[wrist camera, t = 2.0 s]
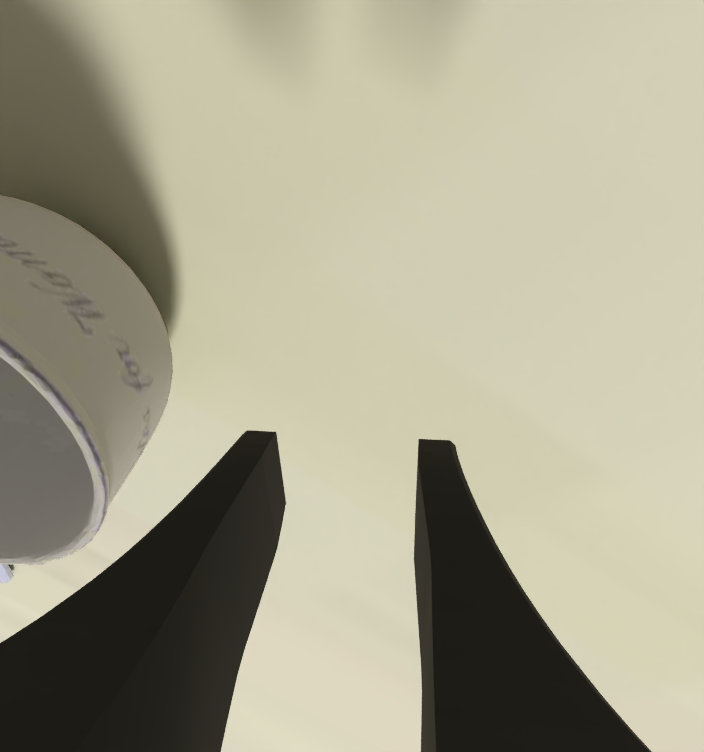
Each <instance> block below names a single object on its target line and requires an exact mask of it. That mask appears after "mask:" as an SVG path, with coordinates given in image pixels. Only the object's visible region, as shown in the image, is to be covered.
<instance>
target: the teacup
mask: <svg viewBox="0 0 704 752" xmlns="http://www.w3.org/2000/svg"><path fill="white" fill-rule="evenodd" d="M172 373H173V371H172V353H171V347H170V342H169V338H168V334H167V331H166V328H165V325H164V322H163V319H162V317H161V315H160V312H159V310H158V308H157V306H156V305H155V303H154V301H153V299H152V297H151V296H150V294H149V293H148V291H147V290H146V288H145V287H144V285H143V284H142V282H141V281H140V280H139V279H138V277H137V276H136V275H135V274H134V272H133V271H132V270H131V269H130V267H129V266H128V265H127V264H126V263H125V262H124V261H123V260H122V259H121V258H120V257H119V256H118V255H117V254H116V253H115V252H114V251H113V250H112V249H110V248H109V247H108V246H107V245H106V244H105V243H103V242H102V241H101V240H100V239H98V238H97V237H96V236H94V235H93V234H91V233H90V232H89V231H87V230H86V229H84V228H83V227H81V226H80V225H78V224H76V223H75V222H73V221H71V220H69V219H68V218H66V217H64V216H62V215H60V214H58V213H55V212H53V211H51V210H49V209H46V208H44V207H41V206H39V205H36V204H34V203H31V202H27V201H24V200H20V199H17V198H13V197H8V196H2V195H0V563H1V564H9V565H10V564H28V565H38V564H44V563H46V562H48V561H52V560H57V559H60V558H63V557H66V556H68V555H71V554H73V553H75V552H76V551H78V550H79V549H81V548H82V547H84V546H85V545H86V544H88V543H89V542H90V541H91V540H92V538H93V537H94V535H95V534H96V533H97V532H98V531H99V529H100V527H101V525H102V523H103V521H104V518H105V516H106V513H107V509H108V506H109V504H110V503H111V501H112V500H113V498H114V497H115V495H116V494H117V492H118V491H119V489H120V487H121V486H122V484H123V483H124V481H125V480H126V478H127V476H128V475H129V473H130V472H131V470H132V469H133V467H134V465H135V464H136V462H137V461H138V459H139V457H140V455H141V454H142V452H143V450H144V449H145V447H146V445H147V444H148V442H149V440H150V438H151V436H152V435H153V433H154V431H155V429H156V427H157V425H158V423H159V421H160V419H161V417H162V415H163V412H164V409H165V407H166V404H167V401H168V397H169V393H170V388H171V380H172Z"/></svg>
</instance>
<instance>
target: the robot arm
mask: <svg viewBox="0 0 704 752" xmlns="http://www.w3.org/2000/svg"><path fill="white" fill-rule="evenodd" d="M285 505H286V500H285V493H284V486H283V479H282V471H281V464H280V457H279V450H278V443H277V435H276V432H266V431H246V432H245V433H244V434H243V435H242V436H241V437H240V438H239V439H238V440H237V441H236V442H235V444H234V445H233V446H232V447H231V448H230V449H229V450H228V452H227V453H226V454H225V455H224V456H223V457H222V458H221V459H220V460H219V462H218V463H217V464H216V465H215V466H214V467H213V468H212V469H211V470H210V471H209V473H208V474H207V475H206V476H205V477H204V478H203V479H202V480H201V481H200V482H199V483H198V484H197V485H196V486H195V487H194V488H193V489H192V491H191V492H190V493H189V494H188V495H187V496H186V497H185V498H184V499H183V500H182V501H181V502H180V503H179V504H178V505H177V506H176V507H175V508H174V509H173V510H172V511H171V512H170V513H169V514H168V515H167V516H166V517H165V518H163V519H162V520H161V521H160V522H159V523H158V524H157V525H156V526H155V527H154V528H153V529H152V530H151V531H150V532H149V533H148V534H147V535H146V536H144V537H143V538H142V539H141V540H140V541H139V542H138V543H137V544H135V545H134V546H133V547H132V548H131V549H130V550H129V551H127V552H126V553H125V554H124V555H123V556H122V557H120V558H119V559H118V560H117V561H115V562H114V563H113V564H112V565H111V566H109V567H108V568H107V569H106V570H104V571H103V572H102V573H101V574H99V575H98V576H97V577H96V578H94V579H93V580H92V581H90V582H89V583H88V584H86V585H85V586H84V587H82V588H81V589H80V590H78V591H77V592H75V593H74V594H73V595H71V596H70V597H68V598H67V599H66V600H64V601H63V602H61V603H60V604H59V605H57V606H56V607H54V608H53V609H52V610H50V611H49V612H47V613H46V614H45V615H43V616H42V617H40V618H39V619H37V620H36V621H34V622H33V623H31V624H30V625H28V626H26V627H25V628H23V629H22V630H20V631H19V632H17V633H16V634H14V635H13V636H11V637H9V638H8V639H6V640H5V641H3V642H1V643H0V752H221V747H222V742H223V737H224V732H225V728H226V723H227V719H228V714H229V710H230V705H231V701H232V696H233V692H234V687H235V683H236V678H237V674H238V670H239V667H240V663H241V660H242V656H243V653H244V649H245V646H246V643H247V640H248V637H249V634H250V631H251V628H252V625H253V622H254V618H255V615H256V612H257V609H258V606H259V603H260V600H261V597H262V594H263V591H264V588H265V585H266V582H267V578H268V575H269V572H270V569H271V566H272V563H273V560H274V556H275V553H276V550H277V546H278V541H279V536H280V531H281V526H282V521H283V515H284V510H285ZM414 564H415V580H416V595H417V610H418V624H419V639H420V654H421V672H422V727H421V752H651V751H650V750H649V749H648V747H647V746H646V745H645V744H644V743H643V742H642V741H641V740H640V739H639V738H638V737H637V735H636V734H635V733H634V732H633V731H632V730H631V729H630V728H629V726H628V725H627V724H626V723H625V722H624V721H623V720H622V718H621V717H620V716H619V715H618V714H617V713H616V711H615V710H614V709H613V708H612V707H611V706H610V705H609V703H608V702H607V701H606V700H605V699H604V698H603V696H602V695H601V694H600V693H599V692H598V690H597V689H596V688H595V686H594V685H593V684H592V683H591V681H590V680H589V679H588V678H587V676H586V675H585V674H584V673H583V671H582V670H581V669H580V668H579V666H578V665H577V664H576V663H575V661H574V660H573V659H572V658H571V656H570V655H569V654H568V652H567V651H566V650H565V649H564V647H563V646H562V645H561V644H560V642H559V641H558V640H557V638H556V637H555V635H554V634H553V633H552V631H551V630H550V628H549V627H548V626H547V624H546V623H545V621H544V620H543V619H542V617H541V616H540V614H539V613H538V611H537V610H536V608H535V607H534V605H533V604H532V602H531V601H530V599H529V598H528V596H527V595H526V593H525V592H524V590H523V589H522V587H521V585H520V584H519V582H518V581H517V579H516V577H515V576H514V574H513V572H512V571H511V569H510V568H509V566H508V564H507V562H506V561H505V559H504V557H503V555H502V553H501V552H500V550H499V548H498V546H497V545H496V543H495V541H494V539H493V537H492V535H491V533H490V531H489V529H488V527H487V525H486V523H485V521H484V519H483V517H482V515H481V513H480V511H479V509H478V507H477V505H476V503H475V500H474V498H473V496H472V494H471V491H470V489H469V486H468V484H467V481H466V479H465V476H464V474H463V471H462V468H461V465H460V462H459V459H458V455H457V452H456V447H455V445H454V444H453V443H452V442H451V441H448V440H428V439H419V446H418V468H417V490H416V513H415V545H414ZM13 576H14V575H13V572H12V570H11V569H10V567H9V565H8V564H1V563H0V583H8V582H10V580H11V579H12V578H13Z"/></svg>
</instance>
